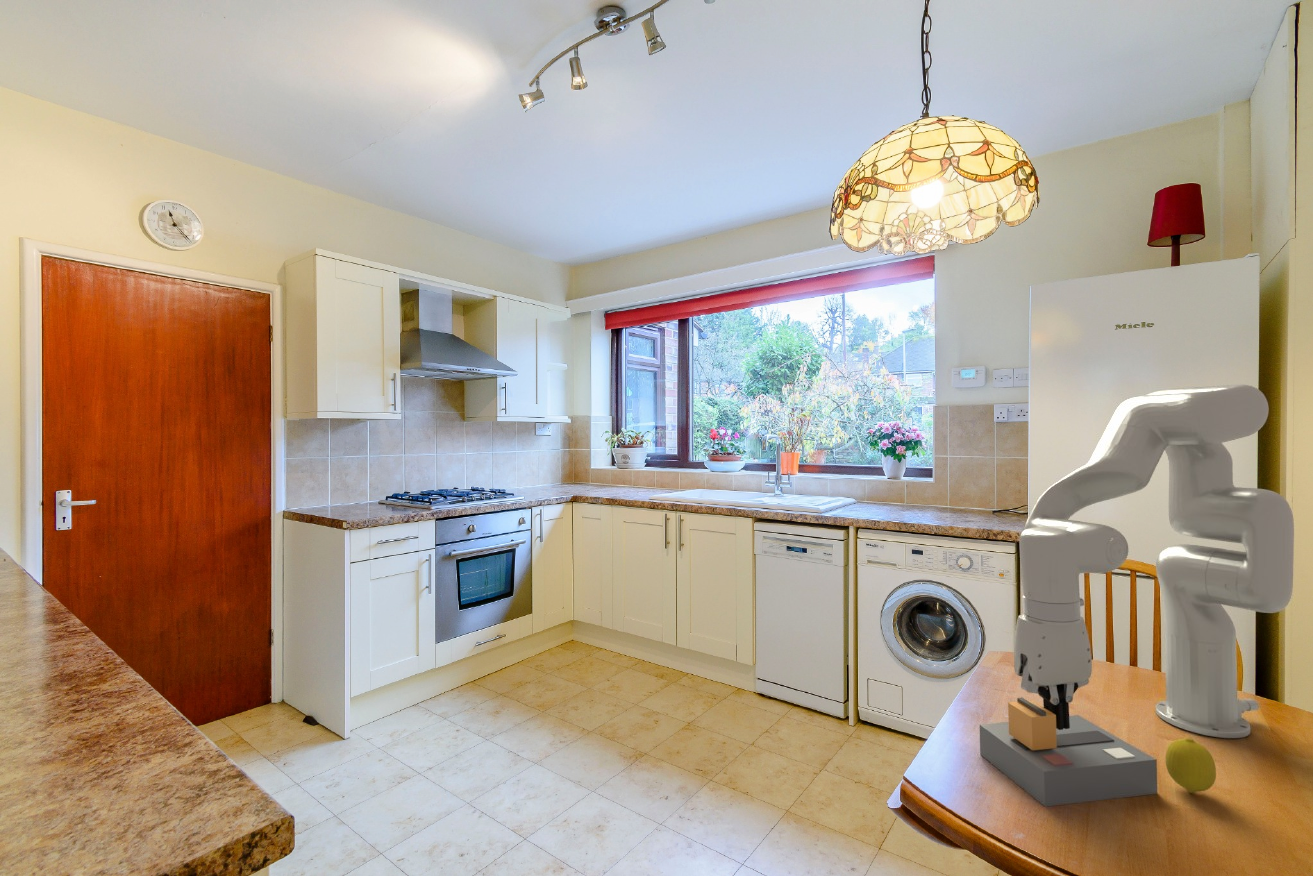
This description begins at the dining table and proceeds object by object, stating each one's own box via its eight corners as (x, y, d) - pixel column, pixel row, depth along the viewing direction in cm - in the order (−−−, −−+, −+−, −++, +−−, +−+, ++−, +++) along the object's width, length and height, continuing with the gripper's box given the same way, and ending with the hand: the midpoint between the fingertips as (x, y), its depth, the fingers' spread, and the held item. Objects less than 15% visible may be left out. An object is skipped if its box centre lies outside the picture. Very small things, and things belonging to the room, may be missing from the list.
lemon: (1156, 781, 91) (1155, 729, 91) (1193, 781, 90) (1192, 728, 90) (1187, 804, 85) (1186, 748, 85) (1227, 804, 85) (1226, 747, 85)
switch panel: (1078, 744, 102) (1078, 713, 102) (1157, 793, 88) (1156, 758, 88) (980, 754, 99) (979, 723, 99) (1044, 806, 86) (1044, 770, 86)
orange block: (1032, 731, 96) (1031, 696, 96) (1056, 747, 91) (1055, 710, 91) (1008, 734, 95) (1008, 698, 95) (1032, 750, 90) (1031, 713, 90)
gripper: (1074, 596, 98) (1080, 708, 98) (990, 606, 96) (996, 719, 96) (1115, 610, 90) (1121, 730, 91) (1024, 621, 89) (1031, 744, 89)
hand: (1057, 724), depth 94 cm, fingers closed
